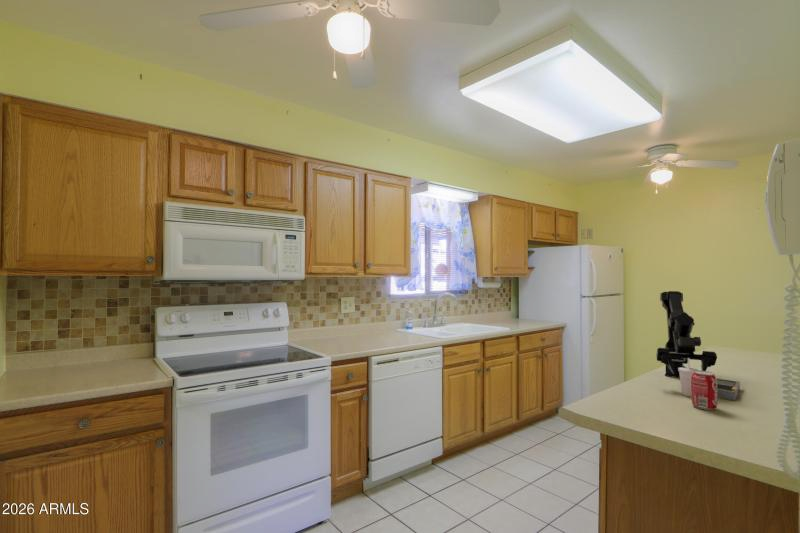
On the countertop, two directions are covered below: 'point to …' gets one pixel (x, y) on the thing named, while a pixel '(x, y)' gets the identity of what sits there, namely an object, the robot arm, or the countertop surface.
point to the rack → (727, 389)
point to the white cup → (686, 379)
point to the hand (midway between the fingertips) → (688, 375)
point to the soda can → (704, 390)
